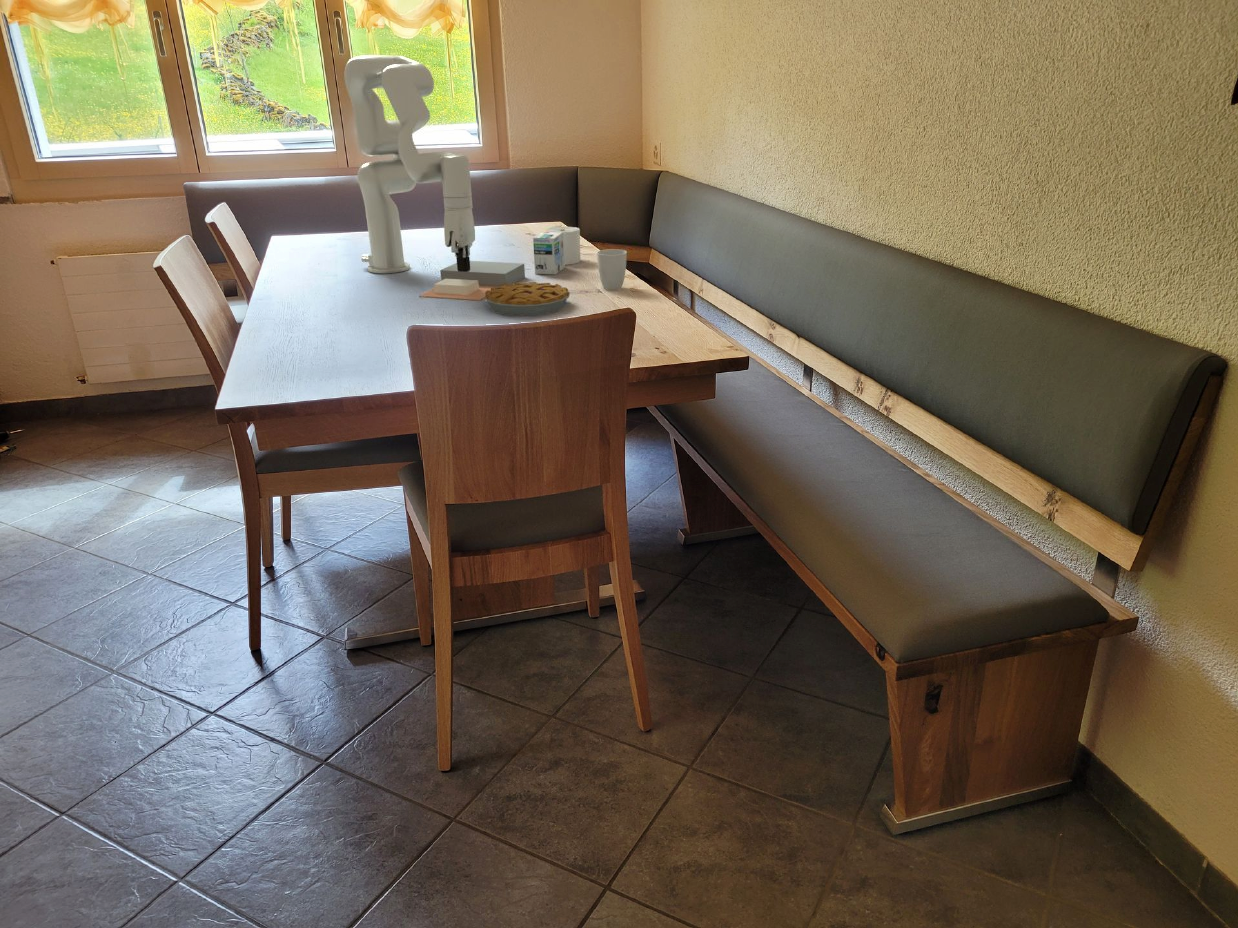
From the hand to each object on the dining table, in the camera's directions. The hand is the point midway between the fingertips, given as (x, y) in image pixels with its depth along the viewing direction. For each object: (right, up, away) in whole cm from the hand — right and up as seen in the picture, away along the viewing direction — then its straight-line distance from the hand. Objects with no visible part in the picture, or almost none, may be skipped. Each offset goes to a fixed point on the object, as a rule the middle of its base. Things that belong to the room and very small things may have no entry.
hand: (464, 271), depth 244 cm
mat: (0, -6, -2) cm, 7 cm away
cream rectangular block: (-2, -5, -2) cm, 6 cm away
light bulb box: (+22, +5, +22) cm, 31 cm away
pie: (+19, -13, -17) cm, 29 cm away
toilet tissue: (+25, +10, +34) cm, 44 cm away
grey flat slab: (+4, -1, +10) cm, 11 cm away
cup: (+41, -5, 0) cm, 42 cm away
